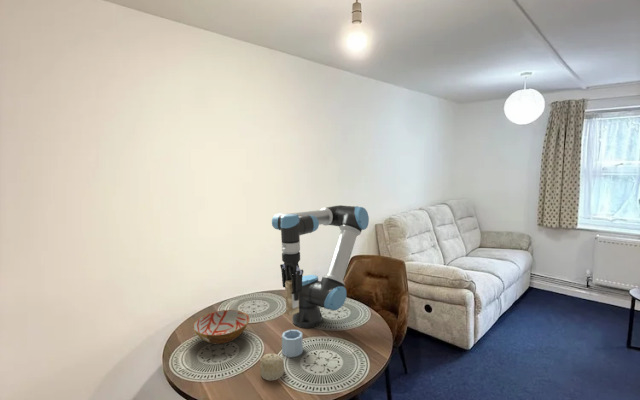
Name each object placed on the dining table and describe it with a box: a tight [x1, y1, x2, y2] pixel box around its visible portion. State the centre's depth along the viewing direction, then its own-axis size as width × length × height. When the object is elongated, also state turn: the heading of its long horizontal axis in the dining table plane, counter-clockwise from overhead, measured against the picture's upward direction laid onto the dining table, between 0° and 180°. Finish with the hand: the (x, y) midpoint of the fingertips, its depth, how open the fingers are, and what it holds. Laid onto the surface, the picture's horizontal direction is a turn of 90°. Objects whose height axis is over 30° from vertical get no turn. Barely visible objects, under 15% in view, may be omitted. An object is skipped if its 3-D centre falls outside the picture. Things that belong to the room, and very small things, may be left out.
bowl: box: [192, 309, 250, 345], centre depth 152 cm, size 25×25×8 cm
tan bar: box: [284, 280, 299, 317], centre depth 138 cm, size 3×4×14 cm, turn 131°
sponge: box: [259, 353, 285, 382], centre depth 126 cm, size 9×10×10 cm
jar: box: [281, 329, 304, 358], centre depth 140 cm, size 9×9×8 cm
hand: (292, 305), depth 138 cm, fingers closed on tan bar, 3 cm apart
